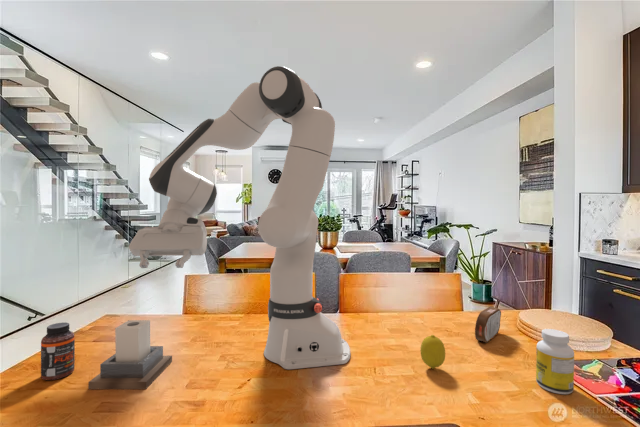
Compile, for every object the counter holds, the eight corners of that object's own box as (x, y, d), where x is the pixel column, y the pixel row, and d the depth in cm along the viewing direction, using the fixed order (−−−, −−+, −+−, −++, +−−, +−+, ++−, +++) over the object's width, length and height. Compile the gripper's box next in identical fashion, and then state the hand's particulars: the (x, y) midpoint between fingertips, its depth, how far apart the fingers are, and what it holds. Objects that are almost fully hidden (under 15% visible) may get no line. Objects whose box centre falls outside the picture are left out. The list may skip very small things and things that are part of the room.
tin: (491, 329, 101) (491, 303, 101) (502, 332, 98) (502, 305, 98) (473, 344, 90) (473, 314, 90) (485, 347, 88) (485, 316, 88)
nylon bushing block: (150, 362, 76) (150, 319, 76) (138, 373, 71) (138, 327, 71) (128, 362, 76) (128, 319, 75) (115, 373, 71) (115, 327, 70)
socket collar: (163, 358, 78) (162, 346, 78) (142, 378, 69) (142, 364, 69) (125, 358, 78) (125, 346, 78) (100, 378, 69) (100, 364, 69)
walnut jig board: (172, 361, 79) (172, 355, 79) (146, 388, 67) (146, 381, 67) (123, 361, 79) (122, 355, 79) (88, 389, 67) (88, 382, 67)
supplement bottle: (55, 383, 70) (55, 331, 69) (33, 380, 71) (33, 328, 71) (81, 369, 75) (80, 321, 75) (60, 367, 77) (60, 319, 76)
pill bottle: (537, 375, 73) (538, 324, 73) (574, 386, 69) (574, 331, 69) (534, 388, 68) (534, 333, 68) (573, 400, 64) (574, 341, 64)
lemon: (429, 376, 73) (429, 341, 73) (415, 364, 78) (416, 331, 78) (450, 372, 74) (450, 338, 74) (435, 361, 79) (435, 329, 79)
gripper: (135, 220, 92) (116, 260, 83) (207, 219, 93) (195, 259, 84) (144, 234, 97) (126, 273, 88) (212, 233, 98) (202, 272, 88)
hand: (161, 266), depth 86 cm, fingers open, 8 cm apart
